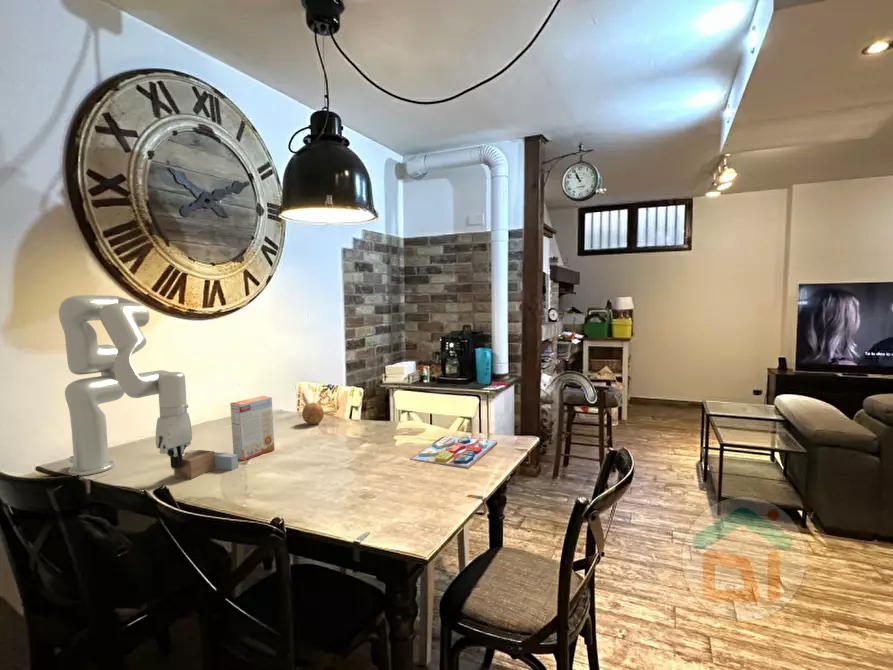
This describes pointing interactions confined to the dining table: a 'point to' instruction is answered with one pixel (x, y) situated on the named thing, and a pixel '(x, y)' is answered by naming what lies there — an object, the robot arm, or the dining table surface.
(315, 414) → the onion
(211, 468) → the walnut block
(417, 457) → the puzzle board
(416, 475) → the dining table surface
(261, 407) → the cracker box
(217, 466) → the batten
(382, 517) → the dining table surface
